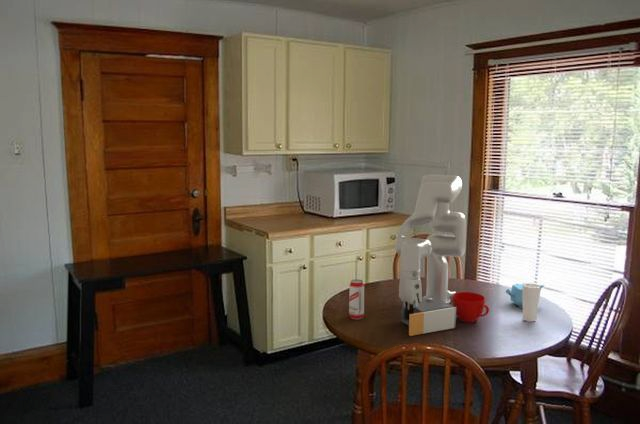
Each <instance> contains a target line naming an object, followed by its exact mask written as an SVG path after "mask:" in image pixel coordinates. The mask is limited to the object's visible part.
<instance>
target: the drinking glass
mask: <svg viewBox="0 0 640 424" xmlns="http://www.w3.org/2000/svg"><path fill="white" fill-rule="evenodd" d="M525 283H526V282H525ZM522 284H523V283H522ZM522 296H523V308H522V320H524V321H525V322H528V323H529V322H530V323H531V322H536V321H537V316H538V309H539V303H540V296H541V291H540V285H539V284H537V283H536V284H535V283H531V282H530V283H529V282H528V283H526V284H523V293H522Z"/></svg>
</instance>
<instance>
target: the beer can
mask: <svg viewBox="0 0 640 424" xmlns="http://www.w3.org/2000/svg"><path fill="white" fill-rule="evenodd" d="M348 293H349V298H348V299H349V301H348V315H349V318H350V319H352V320H356V321H357V320H358V321H359V320H362V319H363V318H364V316H365V283H364V280H362V279H358V278H357V279H352V280H350V282H349V292H348Z"/></svg>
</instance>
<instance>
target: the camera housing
mask: <svg viewBox="0 0 640 424" xmlns="http://www.w3.org/2000/svg"><path fill="white" fill-rule="evenodd" d="M423 297H424V296H423ZM423 297H422V302H421V303H418V307H417V308H415V309H414V314H415V313H421V312H427V311H433V310H439V309H445V308H451V307H453V304H450V303H449V304H448V303H446V302H443V301H441V300H439V299H437V298H435V297H433V296H431V297H424V298H423ZM401 302H402V301H401ZM401 305H402V307H401V309H400V318H401V322H402V323H403V324H405V325H407V326H408V327H409V319H408V320H407V319H405V318H404V316H405V308H404V303H403V302H402V304H401Z"/></svg>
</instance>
